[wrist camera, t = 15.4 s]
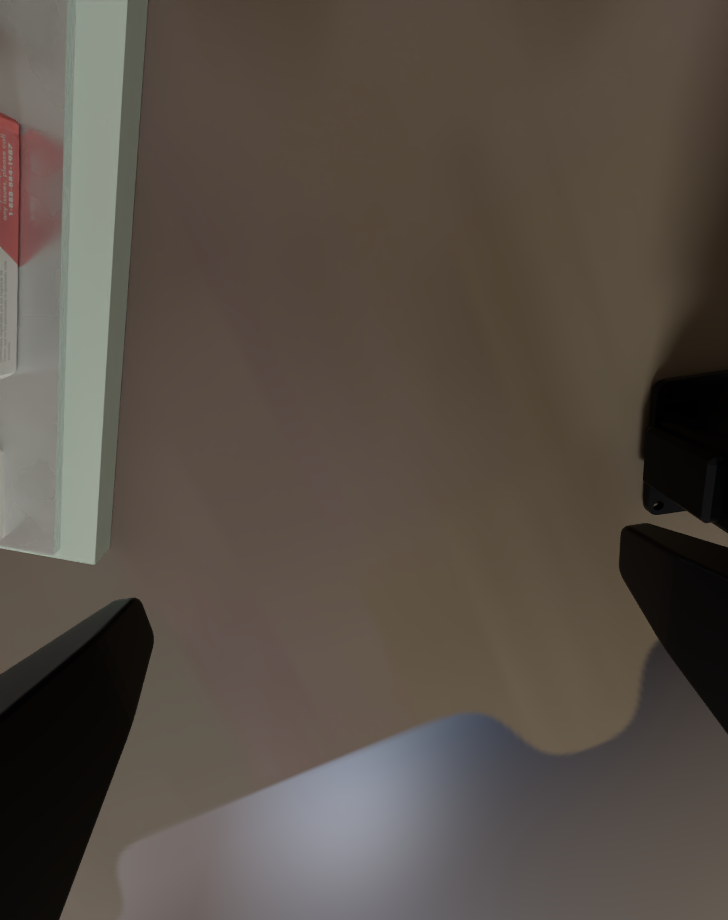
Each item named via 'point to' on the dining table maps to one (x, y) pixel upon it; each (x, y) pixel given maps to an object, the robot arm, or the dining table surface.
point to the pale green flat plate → (38, 264)
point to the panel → (98, 263)
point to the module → (2, 496)
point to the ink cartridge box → (8, 242)
